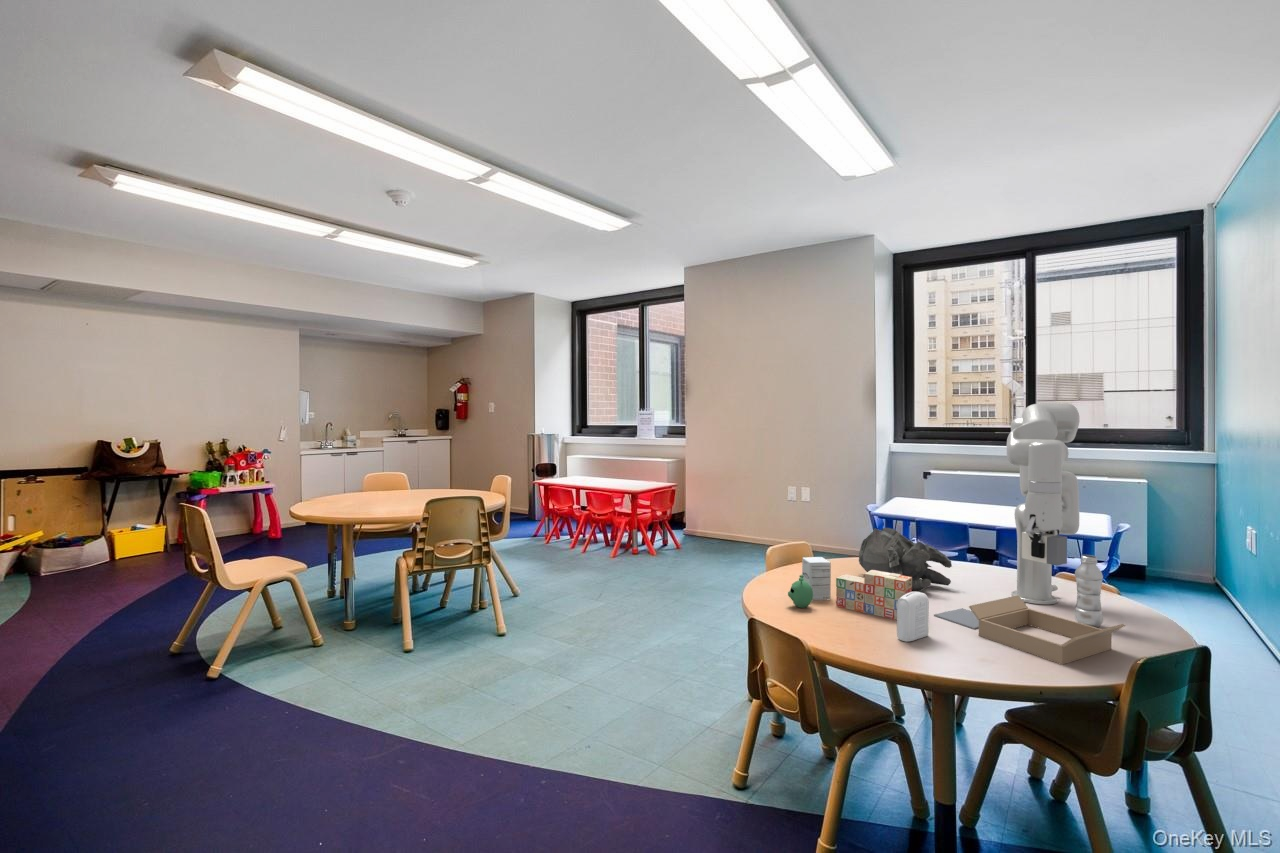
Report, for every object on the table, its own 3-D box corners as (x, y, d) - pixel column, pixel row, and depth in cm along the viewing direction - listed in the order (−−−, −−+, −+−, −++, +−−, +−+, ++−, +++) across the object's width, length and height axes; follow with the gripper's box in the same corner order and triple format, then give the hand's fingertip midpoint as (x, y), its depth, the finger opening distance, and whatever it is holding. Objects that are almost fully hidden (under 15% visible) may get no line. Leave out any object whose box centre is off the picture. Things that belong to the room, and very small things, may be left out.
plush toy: (958, 593, 206) (959, 535, 206) (881, 593, 206) (882, 536, 206) (922, 572, 233) (922, 521, 233) (854, 572, 234) (854, 521, 233)
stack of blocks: (835, 606, 193) (835, 568, 193) (844, 602, 198) (844, 564, 198) (905, 622, 179) (905, 580, 179) (912, 616, 183) (912, 576, 183)
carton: (1016, 620, 180) (1016, 594, 179) (1124, 653, 155) (1125, 623, 155) (968, 632, 170) (968, 605, 170) (1075, 669, 145) (1075, 637, 145)
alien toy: (788, 602, 197) (788, 572, 197) (813, 604, 195) (813, 573, 194) (787, 609, 190) (787, 577, 190) (812, 611, 188) (812, 579, 188)
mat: (962, 609, 190) (962, 608, 190) (1003, 622, 178) (1003, 620, 178) (933, 615, 184) (933, 614, 184) (973, 629, 172) (973, 628, 172)
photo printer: (916, 631, 171) (916, 587, 171) (931, 635, 167) (931, 591, 167) (894, 638, 165) (894, 593, 165) (908, 643, 162) (909, 597, 161)
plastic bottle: (1095, 630, 171) (1096, 560, 170) (1069, 623, 177) (1070, 555, 176) (1107, 627, 174) (1108, 557, 173) (1081, 619, 180) (1082, 552, 179)
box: (1031, 556, 167) (1032, 530, 167) (1066, 563, 159) (1067, 536, 159) (1021, 558, 165) (1021, 532, 165) (1056, 565, 157) (1056, 538, 157)
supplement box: (801, 594, 206) (801, 557, 206) (822, 593, 207) (822, 556, 207) (809, 600, 199) (809, 562, 199) (831, 600, 200) (831, 561, 199)
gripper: (1049, 484, 169) (1048, 549, 169) (1010, 488, 161) (1010, 556, 162) (1078, 487, 162) (1077, 555, 162) (1039, 491, 154) (1039, 563, 155)
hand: (1043, 555), depth 162 cm, fingers closed on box, 4 cm apart
